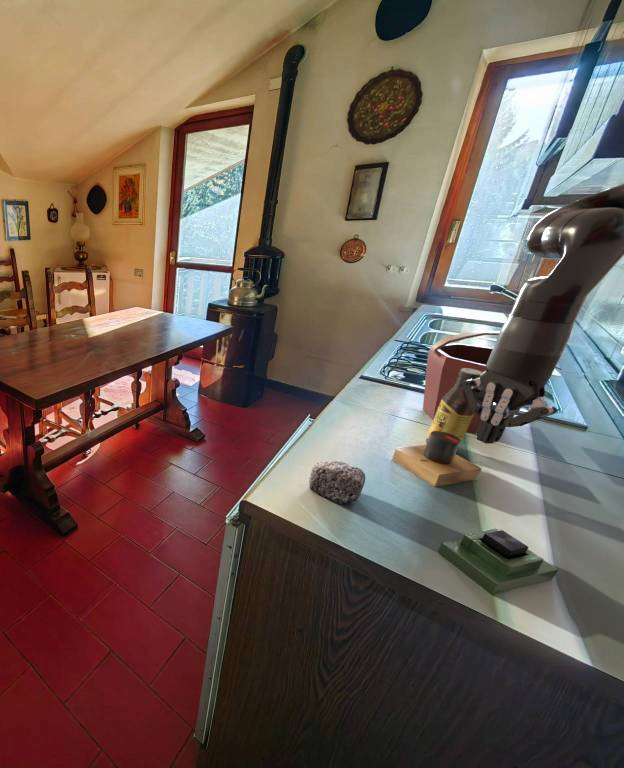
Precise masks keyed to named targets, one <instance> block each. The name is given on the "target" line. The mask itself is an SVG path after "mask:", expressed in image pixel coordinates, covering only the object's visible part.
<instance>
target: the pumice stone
mask: <svg viewBox="0 0 624 768" xmlns="http://www.w3.org/2000/svg"><path fill="white" fill-rule="evenodd" d="M308 478H309V480H308V482H309V483H308V484H309V489H310V490H311V491H312V492H313V493H315V494H316V495H318V496H319V497H322V498H324V499H326V500H329V501H330V502H332V503H334V504H337V505H341V504H345V503H348V502H349V503H353V502H356V501H357V500H358V499H359V497H360V496H361V494H362V490H363V489H364V486H365V483H366V473H365V472H364V471H363V469H361V468H359V467H357V466H356V467H355V466H353V465H350V464H348V463H347V462H344V461H340V460H339V461H338V460H330V461H318V462H317V463H315V464H314V465H313V467H312V469H311V471H310V476H309V477H308Z"/></svg>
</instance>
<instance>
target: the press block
mask: <svg viewBox="0 0 624 768" xmlns="http://www.w3.org/2000/svg"><path fill="white" fill-rule="evenodd" d="M494 531H499V529H497V528H491V529H486V530H480V531H475V532H470V533H466V534H463V537H462V538H458V539H453V540H448V541H444V542H441V544H440V547H439V548H438V551H437V554H439V555H440V556H441V557H443V558H444V559H445V560H446V561H448V562H449V563H450V564H451V565H452V566H454V567H455V568H456V569H457V570H459V571H460V572H461V573H463V574H464V575H466V576H467V577H468V578H469V579H471V580H472V581H473V582H475V584H477V585H478V586H479V587H481V588H482V589H483V590H484V591H486V592H487V593H488V594H489V595H491V596H492V595H497V594H501V593H505V592H508V591H513V590H517V589H521V588H525V587H529V586H533V585H538V584H541V583H546V582H549V581H553V579H554V578H555V576H556V574H557V573H558V571H559V569H558V568H557V567H556V566H554V565H552V564H551V563H549V562H547V561H546V560H545V559H544V558H543V557H541V556H539V555H537V554H536V553H534V552H533V551H532V550H530V549H529V548H528V549H527V551H526V553H525V555H524V556H520V557H515V558H511V559H506V558H505V557H503V556H502V555H501V554H499V553H498V552H496V551H495V550H493V549H492V548H490V547H489V546H487V545H486V544H485V543H483V542H482V541H481V540H482V538H483V536H484V534H485V533H489V532H494Z"/></svg>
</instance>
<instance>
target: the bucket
mask: <svg viewBox="0 0 624 768" xmlns="http://www.w3.org/2000/svg"><path fill="white" fill-rule="evenodd" d="M499 333H500V330H490V329H489V330H487V329H486V330H484V329H483V330H481V329H479V330H473V331H467V332H463V333H458V334H455V335H452V336H446V337H444V338H442V339H440V340H438V341H436V342H435V343H433V344H432V345H431V346H430V347H429V351H428V354H427V361H426V370H425V382H424V392H423V403H422V410H423V412H425V413H426V415H427V416H428V417H429V418H430V419H431V420H432V421H433V420H434V417H435V415H436V412H437V410H438V407H439V405H440V402H441V400H442V398H443V397H444V396H445V395H446V394H447V393H448V392H449V391H450V390H451V389H452V388H453V387H454V386H455V384H456V382H457V379H458V377H459V372H460V370H461V369H463V368H469V369H474V370H478V371H481V372H485V371H486V369H487V368H486V364H487V362H488V359H489V357H490V354H491V352H492V350H493V347H489V346H481V345H474V344H465V343H458V342H460V341H463V340H466V339H467V340H468V339H472V338H477V337H482V336H498V335H499ZM480 422H481V418H480V415H478V414H477V413H474V415H473V417H472V419H471V421H470V423H469V426H468V428H467V430H466V432H465V433H469V432H470V433H471V434H476V431H477V429H478V427H479V424H480Z"/></svg>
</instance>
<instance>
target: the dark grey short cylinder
mask: <svg viewBox="0 0 624 768" xmlns="http://www.w3.org/2000/svg"><path fill="white" fill-rule="evenodd" d="M460 442H461V443H462V441H460V439H459V438H458V437H456V436H454V435H452V434H449V433H446V432H441V431H432V432H431V433H430V436H429V438H428V441H427V443H426V444H425V445H426V446H425V449H424V451H423V455H424V456H425V457H426V458H427V459H429V460H431V461H434V462H437V463H441V464H450V463H452V461H453V458H454V456H455V454H456V453H457V451H458V448H459V447H460V445H461V443H460ZM459 444H460V445H459ZM458 446H459V447H458ZM456 455H457V454H456Z"/></svg>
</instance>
